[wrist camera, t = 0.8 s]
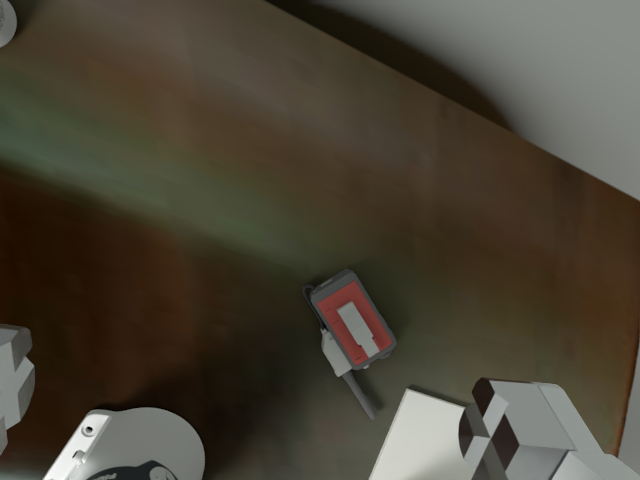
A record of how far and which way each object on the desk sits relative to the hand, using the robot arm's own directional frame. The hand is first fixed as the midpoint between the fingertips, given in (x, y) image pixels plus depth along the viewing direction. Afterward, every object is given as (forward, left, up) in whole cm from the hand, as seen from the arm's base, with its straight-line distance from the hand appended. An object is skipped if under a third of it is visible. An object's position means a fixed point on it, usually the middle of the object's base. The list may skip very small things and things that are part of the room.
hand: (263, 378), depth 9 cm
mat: (-7, -41, -53) cm, 67 cm away
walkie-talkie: (-4, -22, -54) cm, 58 cm away
